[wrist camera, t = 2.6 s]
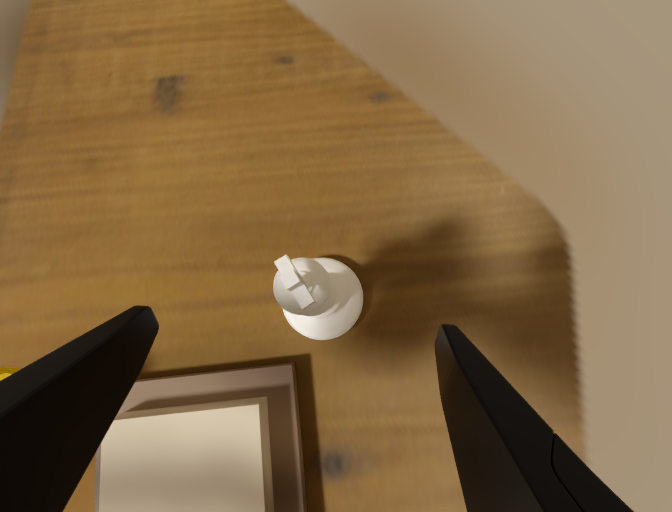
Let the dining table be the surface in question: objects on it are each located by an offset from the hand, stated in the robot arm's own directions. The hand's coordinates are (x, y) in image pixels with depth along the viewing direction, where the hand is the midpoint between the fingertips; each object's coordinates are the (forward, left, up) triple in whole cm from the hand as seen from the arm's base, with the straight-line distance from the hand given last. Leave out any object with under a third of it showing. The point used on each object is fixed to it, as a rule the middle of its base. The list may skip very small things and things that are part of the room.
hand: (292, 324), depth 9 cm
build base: (-8, +7, -9) cm, 14 cm away
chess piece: (+1, 0, -9) cm, 9 cm away
